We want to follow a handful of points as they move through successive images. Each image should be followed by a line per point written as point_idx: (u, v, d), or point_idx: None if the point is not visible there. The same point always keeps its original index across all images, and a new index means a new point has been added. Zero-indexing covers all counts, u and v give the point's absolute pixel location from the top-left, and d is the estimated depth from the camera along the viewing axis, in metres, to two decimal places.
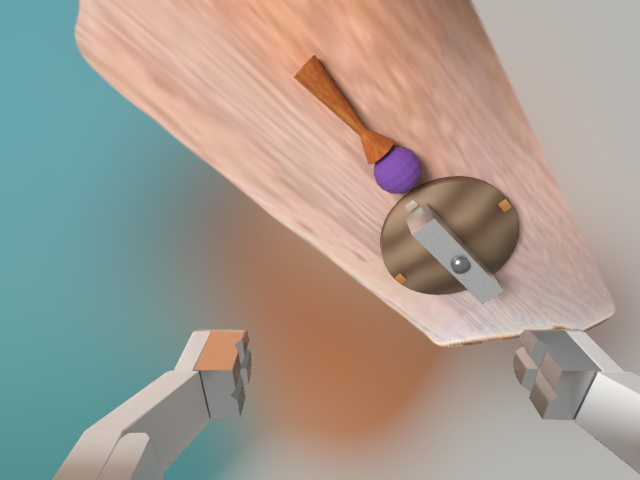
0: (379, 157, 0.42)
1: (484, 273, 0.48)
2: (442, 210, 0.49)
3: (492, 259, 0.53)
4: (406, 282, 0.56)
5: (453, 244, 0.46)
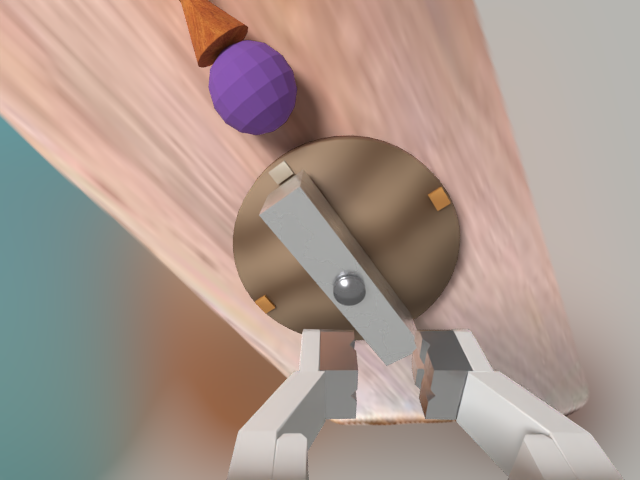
0: (207, 43, 0.21)
1: (391, 311, 0.27)
2: (335, 192, 0.28)
3: (414, 293, 0.32)
4: (275, 312, 0.34)
5: (337, 247, 0.25)
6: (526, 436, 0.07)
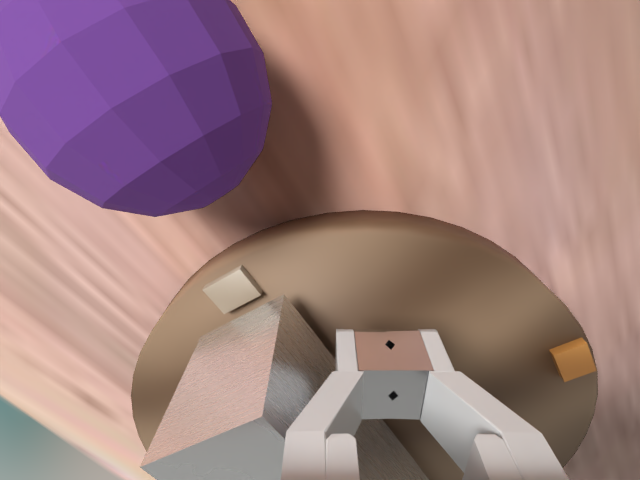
0: None
1: None
2: None
3: None
4: None
5: None
6: (477, 436, 0.07)
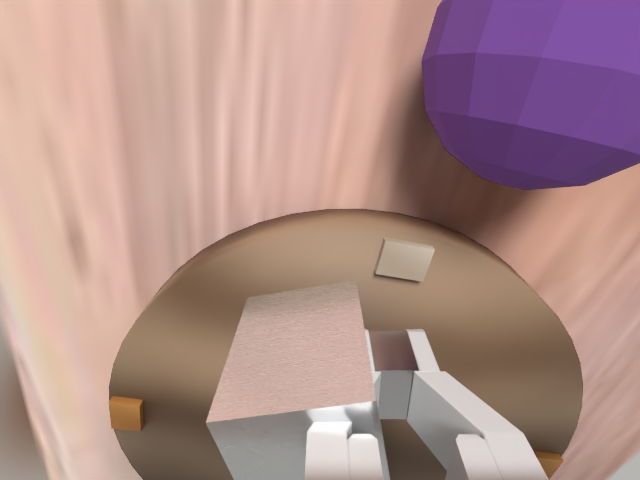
0: None
1: None
2: (439, 356, 0.13)
3: None
4: (134, 432, 0.15)
5: None
6: (459, 436, 0.07)
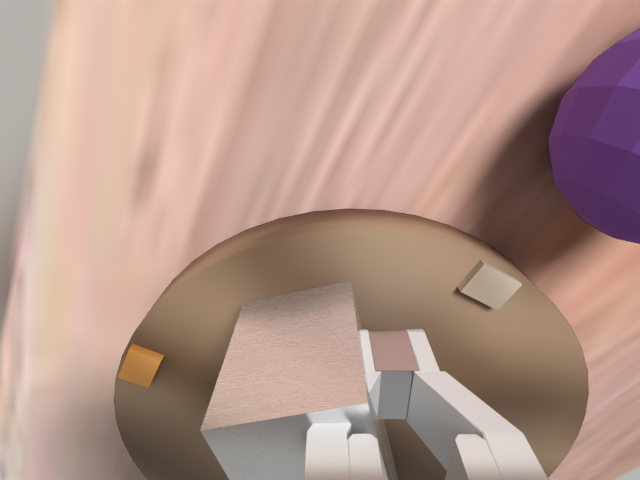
0: None
1: None
2: (473, 381, 0.14)
3: None
4: (137, 387, 0.14)
5: None
6: (459, 436, 0.07)
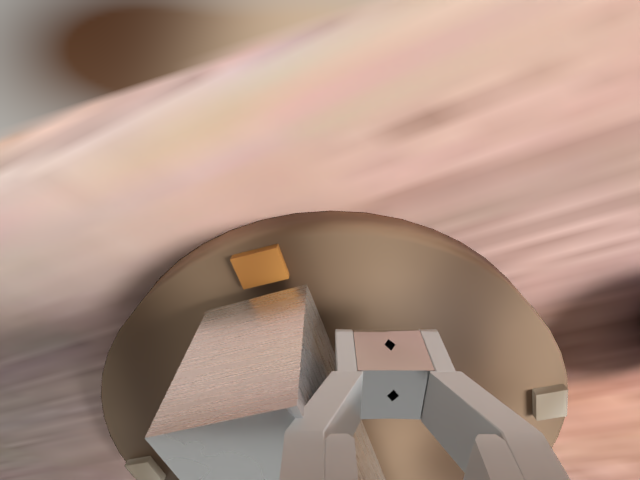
0: None
1: None
2: None
3: None
4: (225, 277, 0.12)
5: None
6: (478, 436, 0.07)
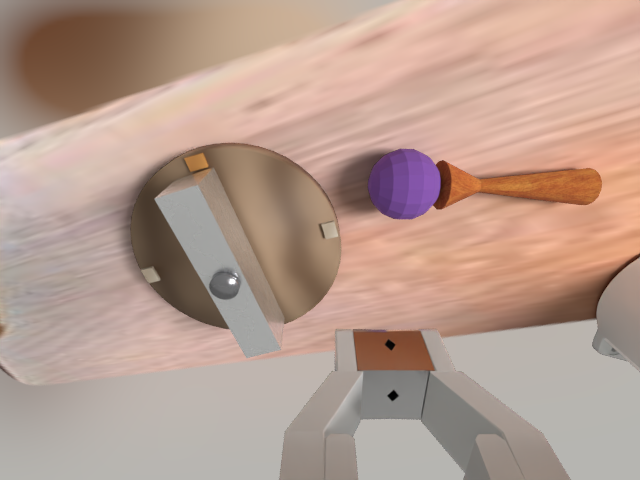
0: (452, 189, 0.28)
1: (259, 312, 0.30)
2: (298, 261, 0.34)
3: (184, 293, 0.36)
4: (183, 167, 0.29)
5: (221, 246, 0.27)
6: (479, 436, 0.07)
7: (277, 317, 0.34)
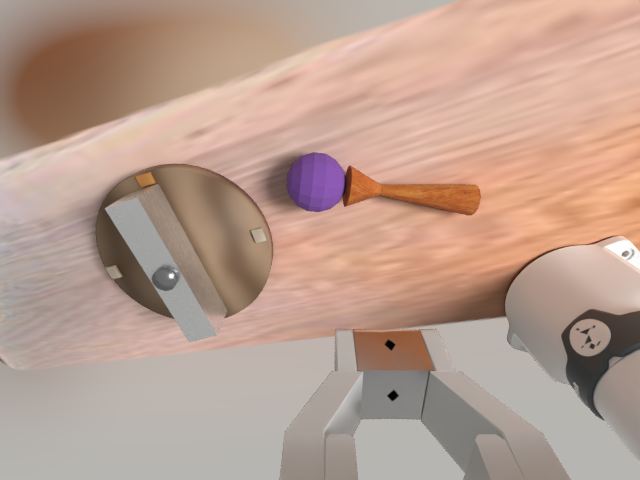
0: (352, 189, 0.34)
1: (195, 302, 0.37)
2: (235, 261, 0.40)
3: (142, 288, 0.42)
4: (135, 184, 0.36)
5: (160, 246, 0.34)
6: (479, 436, 0.07)
7: (217, 308, 0.40)
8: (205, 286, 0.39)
